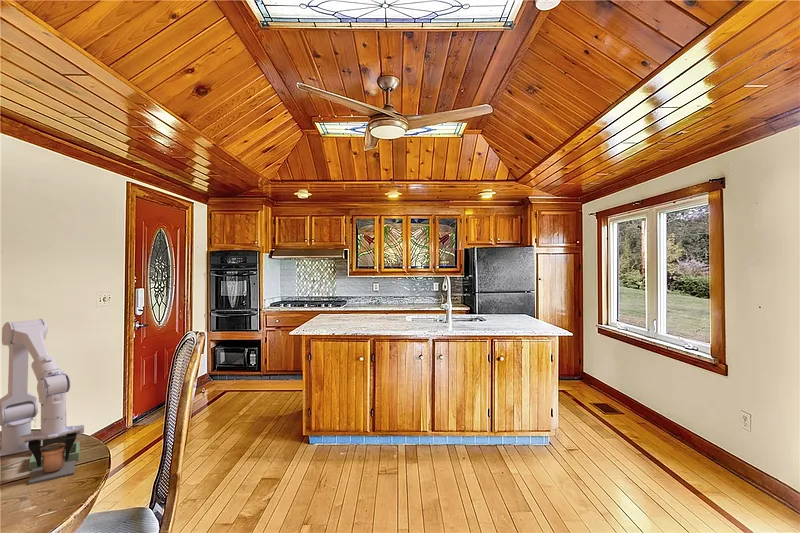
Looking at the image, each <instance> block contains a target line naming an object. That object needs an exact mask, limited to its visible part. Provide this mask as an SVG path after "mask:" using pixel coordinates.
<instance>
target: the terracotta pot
mask: <svg viewBox="0 0 800 533" xmlns="http://www.w3.org/2000/svg"><path fill="white" fill-rule="evenodd" d="M65 449H66V444H65V443H55V444H51V445H48V446H45V447H43V446H42V447H41V450H40V454H41V455H42V457H41V459H42V460H43V471H44V472H52V471H56V470H59V469H61V468H62V467H64V465H65V457H64V454H65V453H64V450H65Z"/></svg>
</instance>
